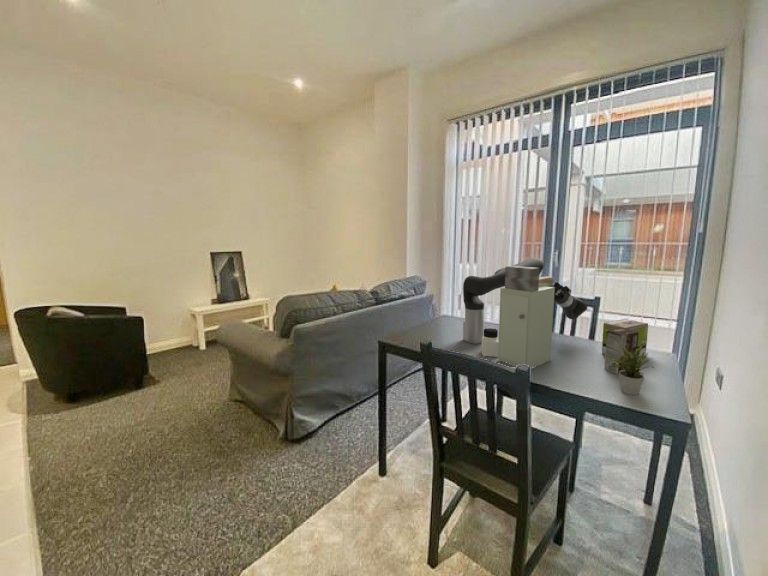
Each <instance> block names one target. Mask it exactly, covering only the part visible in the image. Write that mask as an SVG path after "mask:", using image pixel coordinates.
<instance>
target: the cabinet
mask: <svg viewBox="0 0 768 576" xmlns="http://www.w3.org/2000/svg"><path fill="white" fill-rule="evenodd" d="M554 292H555V287H547V286H539V287H538V290H537V291H532V292H529V291H522V290H515V289H509V288H505V286H504V287H501V288H500V293H499V294H500V295H499V297H500V300H499V319H498V320H499V323H498V324H499V325H498V326H499V327H498V328H499V329H498V340H499V349H498V357H497V358H498V359H497V361H498V360H500V361H499V362H501V361H503V362H502V363H504V362H507V363H510V364H511V365H510V364H509V365H510V366H513V367H516V365H518V364H526V365H529V366H530V367H531V368H532V367H535V366H537V367H539V366H541V365H544V364H546V363H548V362H550V361H551V358H552V357H551V356H552V354H551V353H552V339H553V337H552V335H553V322H554V306H555V305H554V304H555V302H554ZM547 361H548V362H547ZM545 362H546V363H545ZM507 363H506V364H507ZM543 363H544V364H543ZM540 364H541V365H540ZM538 365H539V366H538ZM535 368H536V367H535ZM532 369H533V368H532Z"/></svg>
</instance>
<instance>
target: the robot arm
mask: <svg viewBox="0 0 768 576" xmlns="http://www.w3.org/2000/svg"><path fill="white" fill-rule="evenodd" d="M544 264H545V263H544V262H543V261H542V259H539V258H536V257H534V258H533V257H532V258H527V259H525V260H523V261H521V262H519V263H516V264H514V265H512V266H523V267H535V268H539V278H540V274H542V271H543V269H544V267H545V266H544ZM505 270H506V267H502V268H500V269H497V270H496V271H495V272H494V273H493V275H489V276H486V277H485V276H484V277H483V276H476V275H469V276H468V275H467V277H465V279H464V281H463V284H462V293H463V295H462V297H463V303H464V321H463V323H462V325H463V326H462V339H463V341H464V342H466V343H468V344H482V337H484V319H485V317H484V316H485V303H484V302H483V301H482V300H481V299H480V298H479V296H484V295H486V294H489V293H490V292H492V291H495V290H498V289H501V288H504V287H505ZM544 286H547V287H555V292H554V304H556V305H557V306H559V307H561V309H562V311H563V314H564V315H565V317H566V318H567V319H570V320H576V319H578V318H579V316H581V315H582V314H584V313H585V312H586V311H587V310H588V305H587V304H586V302H585V301H584V300H582V299H579V298H577V297H575V296H574V295H572V289H570V288H569V287H568V286H567V285H565V286H564V285H562V284H560V283H559V282H558V281H555V282H553V284H549V285H544Z"/></svg>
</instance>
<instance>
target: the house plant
mask: <svg viewBox="0 0 768 576" xmlns="http://www.w3.org/2000/svg"><path fill="white" fill-rule="evenodd" d="M617 345H618V344H617ZM619 346H620V345H619ZM620 347H621V346H620ZM621 349H622V350H623V352H624V355H625V356H623V355H622V356H623V358H624V359H625V360H626V362H627V363H625V362H623V361H624V360H623V359H621V358H620V357H621V356H620V355H619V354H620V353H619V354H618V355H619V356H620V357H618V356H617V357H618V358H619V359H620V360H616V359H610V360H613V361H616V362H618V363H620V364H622V365H623V366H624V367H623V366H621V365H618V364H614V365H612V366H615V367H614V368H618V367H623V368H624V369H625V370H624V369H623V370H622V371H620V372H619V374H618V375H619V385H620V391H621V392H623V393H624V394H627V395H632V396H636V395H639V394H640V392H641V389H642V385H643V382H644V379H645V376H644V372H641V371H642V370H644V369H647V368H648V366H645V367H642V366H643V365H644V364H645V363H647V362H648V361H650V360H652V359H653V357H651V358H649V359H647V360H646V358H647V356H648V355H649V352H646V355H644V354H645V351H644V352H643V353H642V355H641V356H639V353H640V351H641V349H643V348H642V346H640V347H639V348H637V349H636V351H635V352H634V354H633V358H632V357H631V355H630V353H629V352H628V351H627V350H626V349H623V348H622V347H621ZM609 350H611V349H609ZM613 351H614V350H613ZM625 351H626V352H625ZM616 352H617V351H616ZM614 353H615V352H614ZM626 353H627V354H626ZM627 356H628V357H627ZM638 356H639V357H638ZM622 360H623V361H622ZM611 362H612V361H611ZM641 367H642V368H641ZM640 368H641V369H640ZM652 368H653V369H656V368H655V367H654V366H652Z"/></svg>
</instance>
